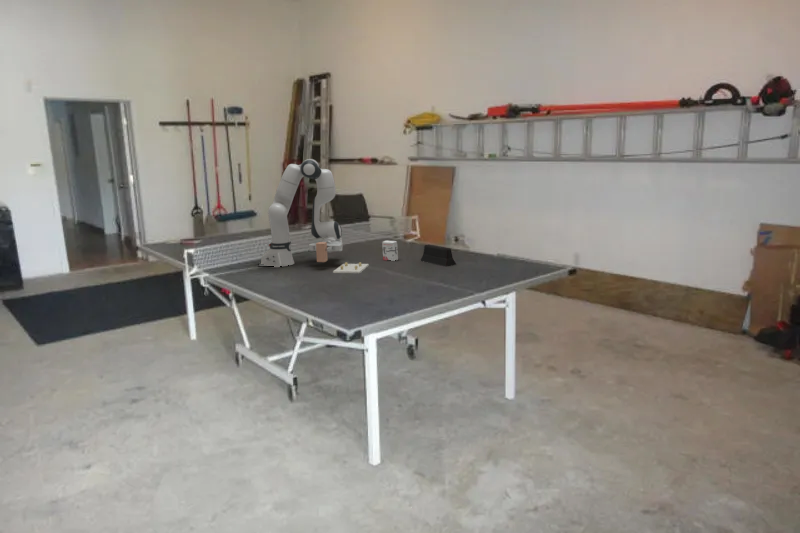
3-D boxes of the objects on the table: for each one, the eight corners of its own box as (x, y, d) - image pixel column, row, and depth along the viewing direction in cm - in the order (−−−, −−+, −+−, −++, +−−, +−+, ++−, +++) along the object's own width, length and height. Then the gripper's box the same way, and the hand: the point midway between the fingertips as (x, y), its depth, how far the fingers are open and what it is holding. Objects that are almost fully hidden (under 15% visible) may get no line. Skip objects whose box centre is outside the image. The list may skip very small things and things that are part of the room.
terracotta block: (316, 261, 335) (315, 243, 333) (319, 260, 340) (318, 242, 338) (325, 262, 334) (324, 243, 332) (327, 260, 339) (326, 242, 337)
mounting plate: (333, 273, 327) (332, 267, 326) (343, 265, 346) (343, 260, 345) (359, 273, 324) (359, 268, 323) (368, 265, 343) (368, 260, 342)
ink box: (382, 260, 356) (381, 241, 353) (386, 258, 360) (385, 240, 358) (394, 261, 352) (393, 242, 349) (398, 259, 356) (397, 241, 354)
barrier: (456, 264, 337) (456, 248, 335) (445, 267, 332) (445, 250, 329) (430, 259, 355) (430, 243, 353) (419, 261, 350) (419, 245, 348)
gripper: (312, 239, 350) (304, 243, 337) (344, 240, 346) (337, 244, 333) (313, 249, 351) (305, 254, 338) (344, 250, 347) (338, 255, 334)
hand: (321, 249), depth 335 cm, fingers closed on terracotta block, 5 cm apart
